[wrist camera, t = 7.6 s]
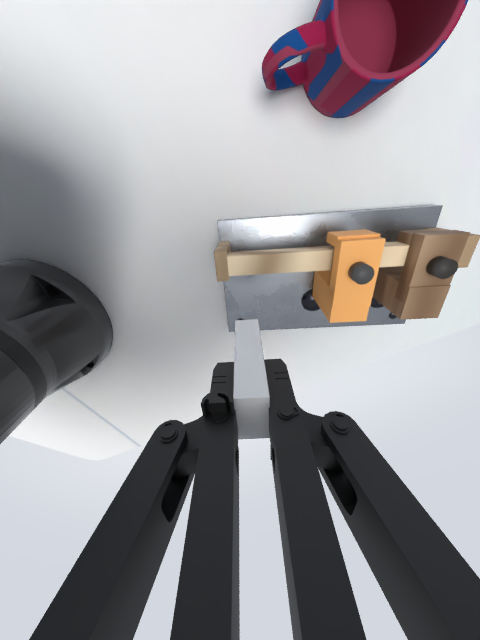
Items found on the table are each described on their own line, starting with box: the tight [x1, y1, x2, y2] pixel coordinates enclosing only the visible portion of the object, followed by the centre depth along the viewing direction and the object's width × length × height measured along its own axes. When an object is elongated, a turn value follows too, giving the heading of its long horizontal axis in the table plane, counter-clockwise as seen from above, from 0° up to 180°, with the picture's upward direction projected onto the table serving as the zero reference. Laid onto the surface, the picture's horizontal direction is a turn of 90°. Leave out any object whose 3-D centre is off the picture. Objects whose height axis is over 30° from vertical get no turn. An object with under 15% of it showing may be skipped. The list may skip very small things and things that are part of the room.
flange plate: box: [218, 205, 442, 332], centre depth 24 cm, size 20×12×1 cm, turn 94°
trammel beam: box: [214, 227, 480, 319], centre depth 20 cm, size 20×8×7 cm, turn 94°
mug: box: [262, 0, 468, 118], centre depth 14 cm, size 7×10×7 cm
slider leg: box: [312, 229, 386, 323], centre depth 20 cm, size 3×8×7 cm, turn 4°
